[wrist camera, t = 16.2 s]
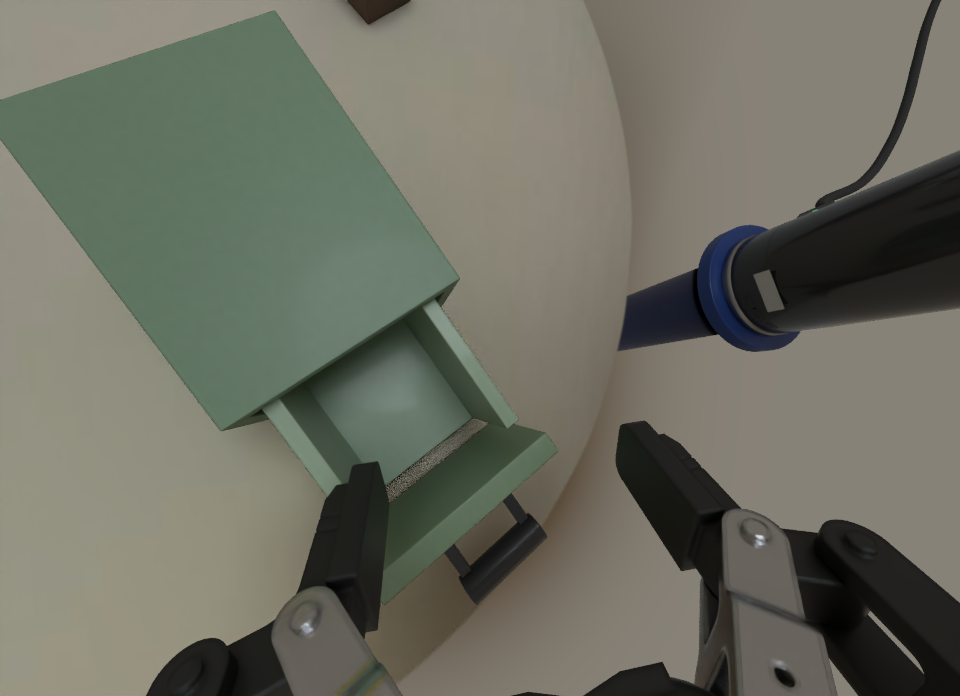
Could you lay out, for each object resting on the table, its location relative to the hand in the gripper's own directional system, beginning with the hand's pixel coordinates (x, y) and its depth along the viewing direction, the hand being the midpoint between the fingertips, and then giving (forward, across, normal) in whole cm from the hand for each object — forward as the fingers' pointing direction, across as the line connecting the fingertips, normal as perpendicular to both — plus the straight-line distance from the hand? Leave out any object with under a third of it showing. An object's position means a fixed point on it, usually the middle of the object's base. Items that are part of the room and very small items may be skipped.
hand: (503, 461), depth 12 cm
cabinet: (+17, +10, -2) cm, 20 cm away
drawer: (+12, +5, +7) cm, 14 cm away
